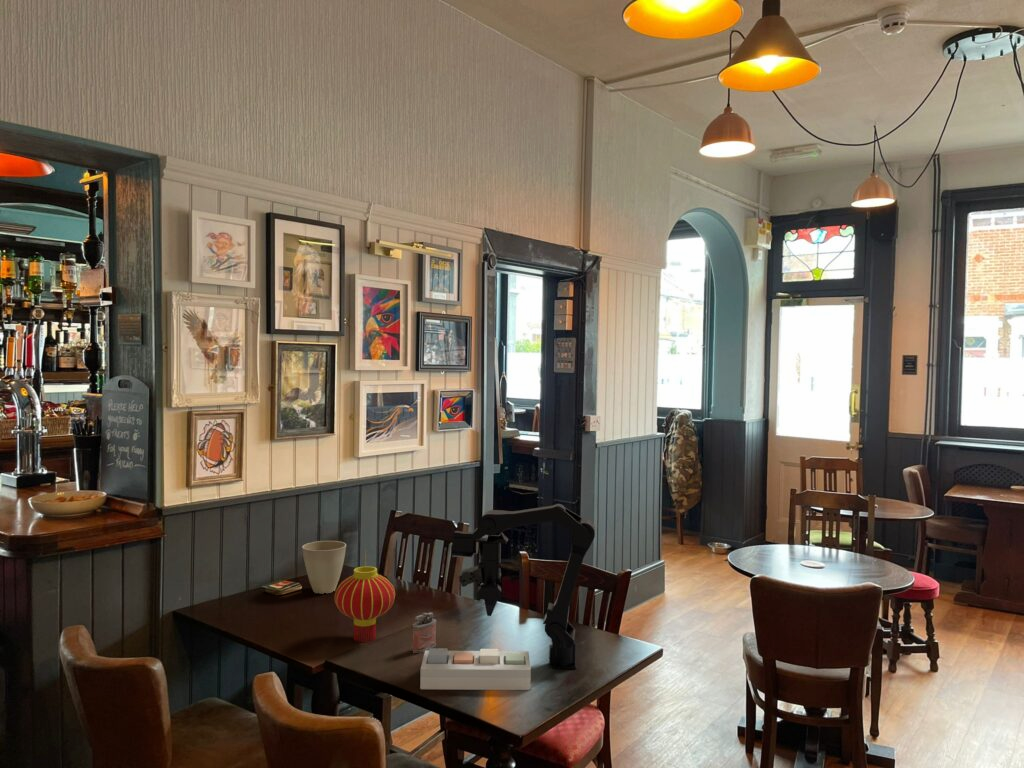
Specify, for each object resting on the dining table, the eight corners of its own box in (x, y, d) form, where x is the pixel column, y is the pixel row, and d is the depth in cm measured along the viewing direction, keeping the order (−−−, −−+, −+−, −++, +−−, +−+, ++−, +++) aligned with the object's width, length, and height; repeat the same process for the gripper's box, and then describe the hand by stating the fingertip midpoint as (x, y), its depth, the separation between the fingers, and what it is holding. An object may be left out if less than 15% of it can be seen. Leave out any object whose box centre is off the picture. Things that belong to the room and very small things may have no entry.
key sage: (523, 663, 193) (523, 653, 193) (524, 670, 189) (524, 660, 189) (505, 662, 193) (505, 653, 193) (505, 670, 189) (505, 660, 189)
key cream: (498, 658, 193) (498, 648, 193) (498, 665, 189) (498, 655, 189) (480, 658, 193) (480, 648, 193) (479, 665, 189) (480, 655, 189)
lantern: (404, 631, 224) (405, 531, 224) (378, 652, 208) (379, 544, 207) (352, 625, 229) (353, 526, 228) (323, 645, 212) (324, 539, 211)
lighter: (430, 643, 215) (430, 608, 215) (438, 646, 213) (439, 611, 212) (409, 651, 209) (409, 615, 208) (417, 654, 206) (418, 618, 206)
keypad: (528, 670, 197) (528, 651, 197) (530, 690, 185) (530, 669, 185) (424, 669, 197) (425, 650, 197) (420, 689, 185) (420, 669, 185)
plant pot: (348, 584, 271) (349, 540, 270) (342, 597, 256) (342, 550, 255) (306, 584, 270) (307, 540, 269) (297, 597, 255) (297, 550, 254)
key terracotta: (472, 662, 193) (472, 652, 193) (472, 669, 189) (472, 660, 188) (454, 662, 193) (454, 652, 193) (453, 669, 188) (454, 659, 188)
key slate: (447, 658, 193) (447, 648, 193) (446, 665, 188) (446, 655, 188) (429, 657, 193) (429, 648, 193) (427, 665, 188) (428, 655, 188)
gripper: (461, 549, 212) (460, 604, 213) (458, 567, 194) (457, 627, 194) (501, 549, 213) (500, 604, 213) (501, 567, 194) (500, 627, 194)
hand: (489, 615), depth 204 cm, fingers closed
